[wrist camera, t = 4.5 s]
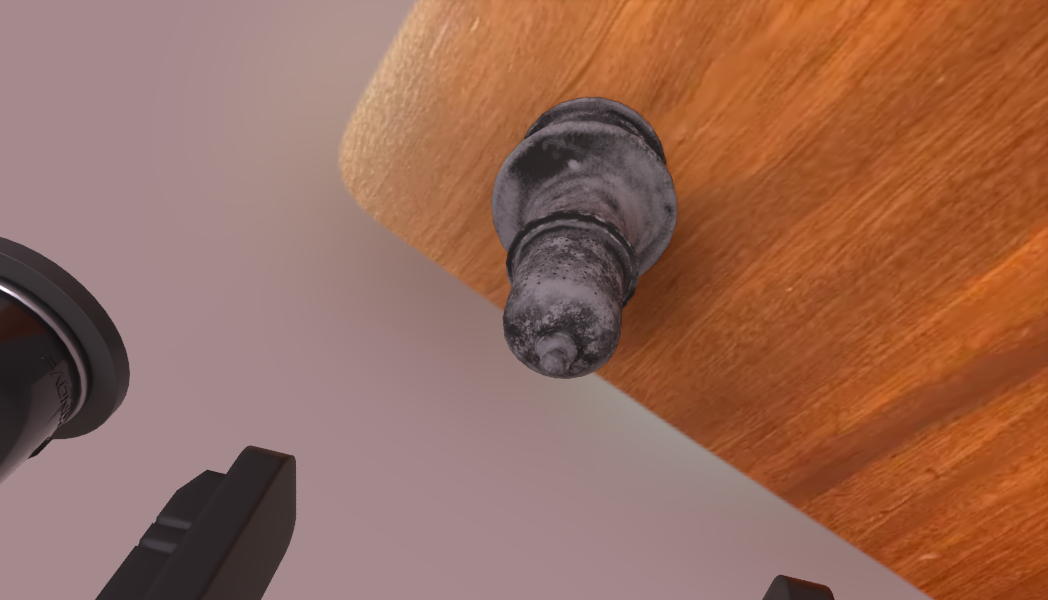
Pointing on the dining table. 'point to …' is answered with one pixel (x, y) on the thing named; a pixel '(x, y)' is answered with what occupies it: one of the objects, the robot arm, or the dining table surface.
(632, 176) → the salt shaker
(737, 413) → the dining table surface
